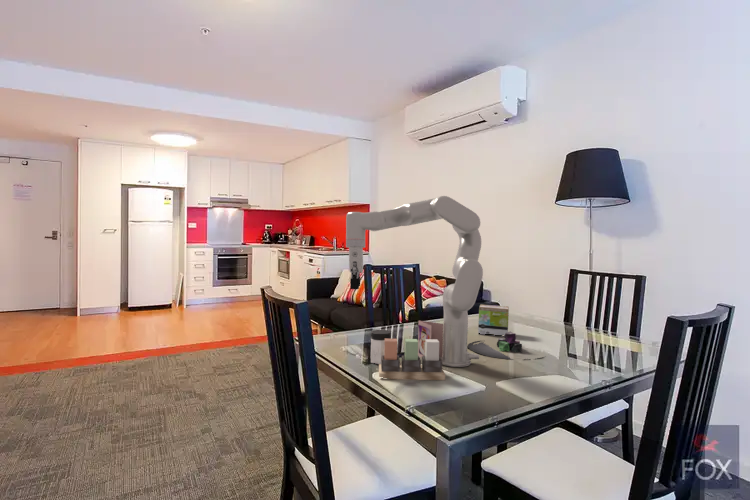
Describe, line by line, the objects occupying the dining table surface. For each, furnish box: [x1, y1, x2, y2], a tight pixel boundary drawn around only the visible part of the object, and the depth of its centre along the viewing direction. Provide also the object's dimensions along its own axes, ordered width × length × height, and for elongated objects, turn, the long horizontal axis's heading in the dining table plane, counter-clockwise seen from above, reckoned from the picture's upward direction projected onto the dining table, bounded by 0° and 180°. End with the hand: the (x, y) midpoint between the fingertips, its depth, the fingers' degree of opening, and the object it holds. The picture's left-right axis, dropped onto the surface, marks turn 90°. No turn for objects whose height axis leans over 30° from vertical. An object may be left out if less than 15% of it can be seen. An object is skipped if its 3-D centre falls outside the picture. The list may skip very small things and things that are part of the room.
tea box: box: [477, 303, 510, 336], centre depth 226 cm, size 15×10×15 cm
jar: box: [370, 329, 392, 365], centre depth 171 cm, size 9×8×12 cm
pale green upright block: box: [404, 338, 418, 360], centre depth 155 cm, size 4×4×7 cm
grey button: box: [425, 339, 439, 361], centre depth 155 cm, size 4×4×7 cm
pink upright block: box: [384, 338, 398, 360], centre depth 155 cm, size 4×4×7 cm
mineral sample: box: [467, 331, 546, 361], centre depth 194 cm, size 35×35×9 cm
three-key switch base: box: [378, 355, 446, 381], centre depth 155 cm, size 23×11×6 cm, turn 90°
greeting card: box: [417, 320, 444, 358], centre depth 177 cm, size 11×7×15 cm, turn 21°
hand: (355, 287), depth 167 cm, fingers open, 9 cm apart
